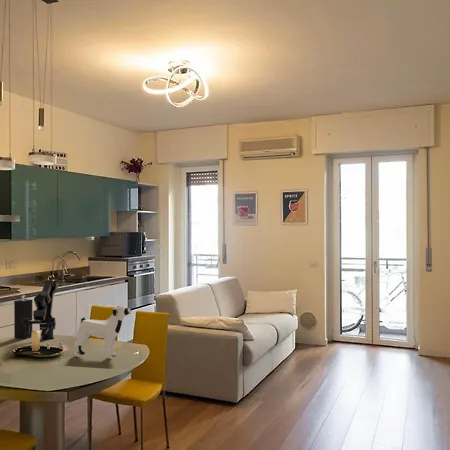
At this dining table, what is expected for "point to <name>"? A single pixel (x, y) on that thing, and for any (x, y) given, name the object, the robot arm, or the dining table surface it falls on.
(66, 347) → the board
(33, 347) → the post
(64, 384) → the dining table surface
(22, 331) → the black square column
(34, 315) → the robot arm
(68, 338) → the dining table surface
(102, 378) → the dining table surface
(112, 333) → the decorative sculpture
